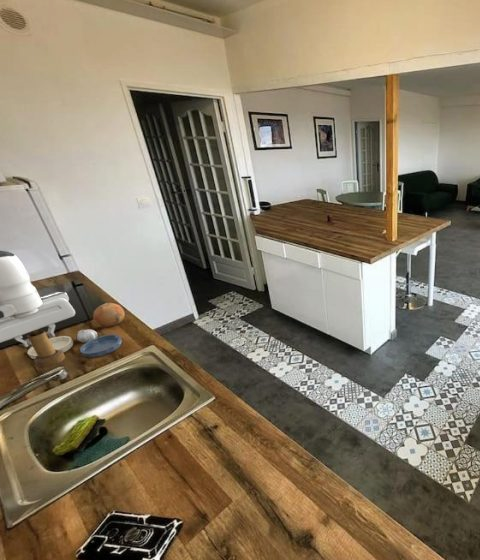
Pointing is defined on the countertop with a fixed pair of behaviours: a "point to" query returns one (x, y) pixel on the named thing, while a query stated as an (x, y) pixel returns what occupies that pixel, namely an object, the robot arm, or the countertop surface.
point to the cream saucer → (55, 345)
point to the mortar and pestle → (44, 349)
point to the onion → (108, 314)
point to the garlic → (86, 335)
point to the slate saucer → (101, 346)
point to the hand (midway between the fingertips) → (40, 341)
